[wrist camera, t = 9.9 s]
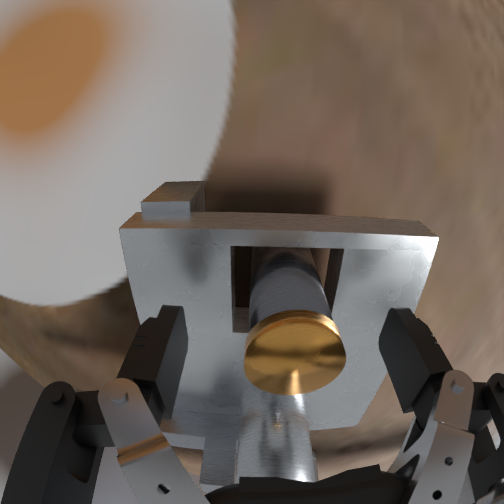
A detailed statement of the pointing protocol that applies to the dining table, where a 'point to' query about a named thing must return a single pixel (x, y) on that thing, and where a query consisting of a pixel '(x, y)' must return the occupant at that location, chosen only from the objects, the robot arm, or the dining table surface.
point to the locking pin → (290, 324)
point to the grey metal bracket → (237, 323)
